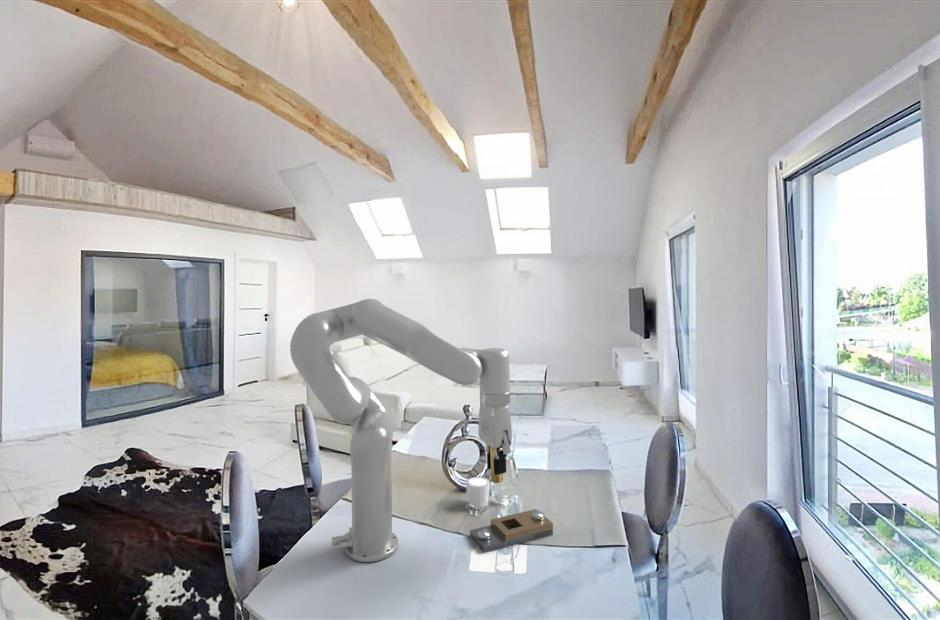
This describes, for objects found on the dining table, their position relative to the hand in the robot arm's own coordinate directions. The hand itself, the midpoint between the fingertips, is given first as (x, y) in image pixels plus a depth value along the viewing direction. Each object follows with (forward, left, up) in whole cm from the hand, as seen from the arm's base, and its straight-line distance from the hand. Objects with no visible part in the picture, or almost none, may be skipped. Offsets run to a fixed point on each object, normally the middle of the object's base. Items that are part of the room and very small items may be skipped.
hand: (496, 469), depth 112 cm
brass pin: (0, 0, -3) cm, 3 cm away
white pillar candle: (+4, +18, -18) cm, 26 cm away
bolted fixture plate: (+5, 0, -18) cm, 19 cm away
